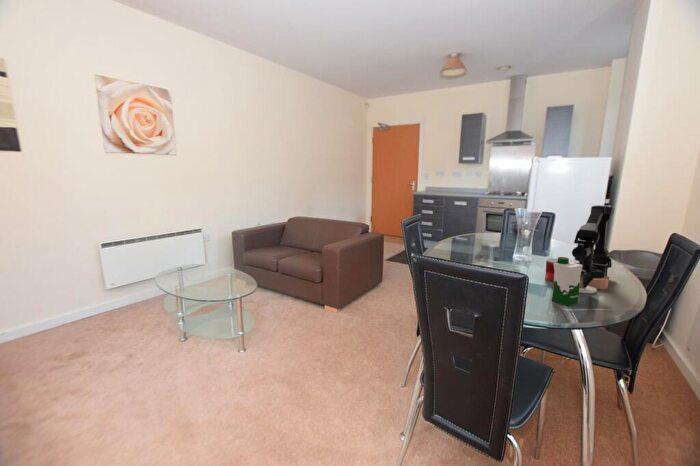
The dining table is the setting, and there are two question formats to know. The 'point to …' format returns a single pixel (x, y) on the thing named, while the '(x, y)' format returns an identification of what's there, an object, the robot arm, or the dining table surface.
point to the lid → (586, 290)
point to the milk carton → (566, 281)
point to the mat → (593, 294)
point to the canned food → (550, 269)
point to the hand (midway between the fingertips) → (582, 286)
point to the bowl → (600, 283)
